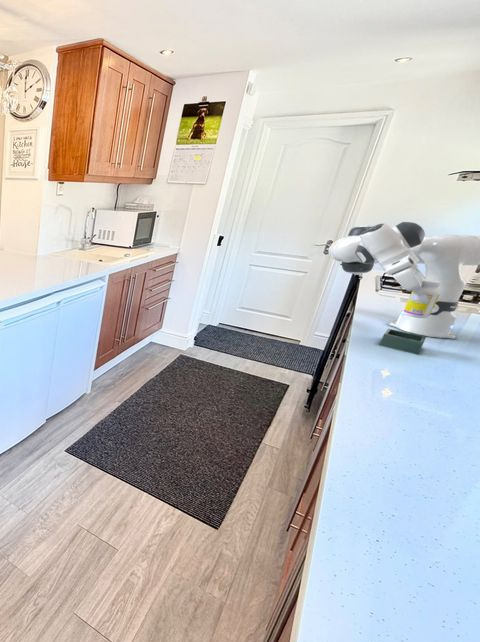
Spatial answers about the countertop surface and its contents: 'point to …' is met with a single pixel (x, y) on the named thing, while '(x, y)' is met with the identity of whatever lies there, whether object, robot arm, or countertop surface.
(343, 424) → the countertop surface
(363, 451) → the countertop surface
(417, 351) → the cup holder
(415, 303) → the supplement bottle
